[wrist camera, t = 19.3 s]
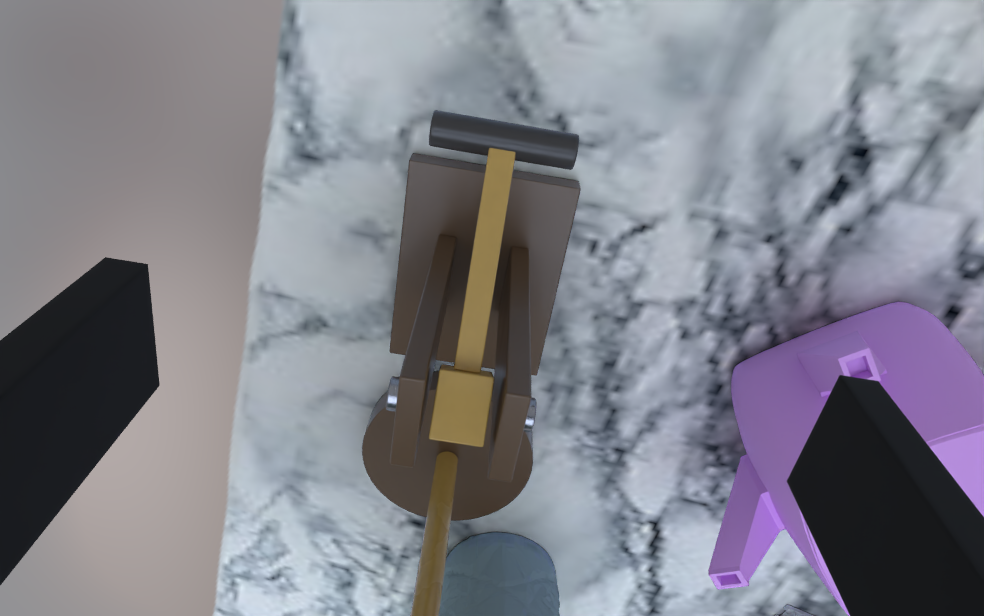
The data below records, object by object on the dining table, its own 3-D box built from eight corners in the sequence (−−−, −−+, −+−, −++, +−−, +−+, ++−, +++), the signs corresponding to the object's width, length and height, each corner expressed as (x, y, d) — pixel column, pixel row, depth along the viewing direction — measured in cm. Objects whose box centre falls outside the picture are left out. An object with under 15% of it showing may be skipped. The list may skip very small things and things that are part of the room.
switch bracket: (412, 152, 36) (351, 277, 23) (579, 180, 37) (608, 319, 24) (392, 341, 42) (335, 524, 29) (536, 363, 43) (542, 554, 30)
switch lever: (435, 118, 29) (433, 101, 27) (573, 142, 30) (583, 127, 27) (386, 422, 29) (380, 432, 27) (525, 443, 29) (530, 454, 27)
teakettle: (892, 529, 48) (998, 703, 37) (665, 474, 47) (707, 640, 36) (1050, 330, 40) (1245, 480, 29) (781, 256, 38) (881, 385, 28)
